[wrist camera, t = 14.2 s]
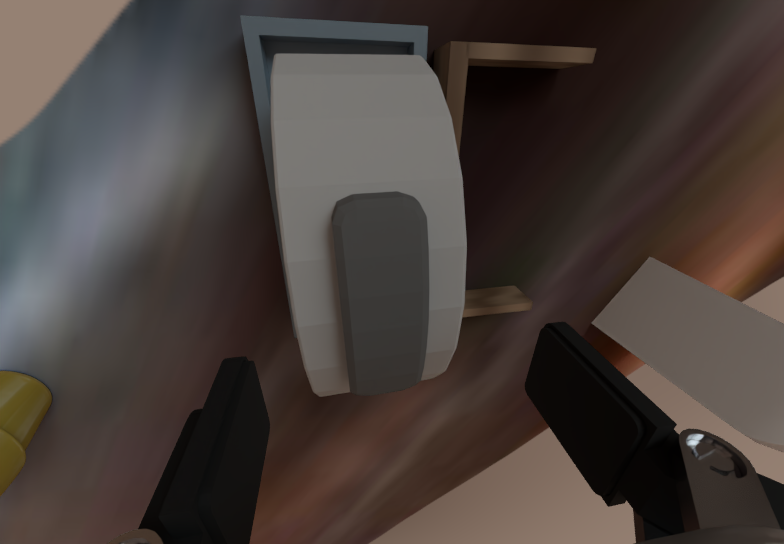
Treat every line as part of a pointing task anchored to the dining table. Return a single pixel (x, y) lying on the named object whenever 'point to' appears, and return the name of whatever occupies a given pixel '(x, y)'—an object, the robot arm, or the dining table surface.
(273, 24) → the slate tray
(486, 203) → the dining table surface
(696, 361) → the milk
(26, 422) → the plant pot
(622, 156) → the dining table surface
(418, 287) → the alarm clock
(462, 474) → the dining table surface
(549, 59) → the walnut stall
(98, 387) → the dining table surface
